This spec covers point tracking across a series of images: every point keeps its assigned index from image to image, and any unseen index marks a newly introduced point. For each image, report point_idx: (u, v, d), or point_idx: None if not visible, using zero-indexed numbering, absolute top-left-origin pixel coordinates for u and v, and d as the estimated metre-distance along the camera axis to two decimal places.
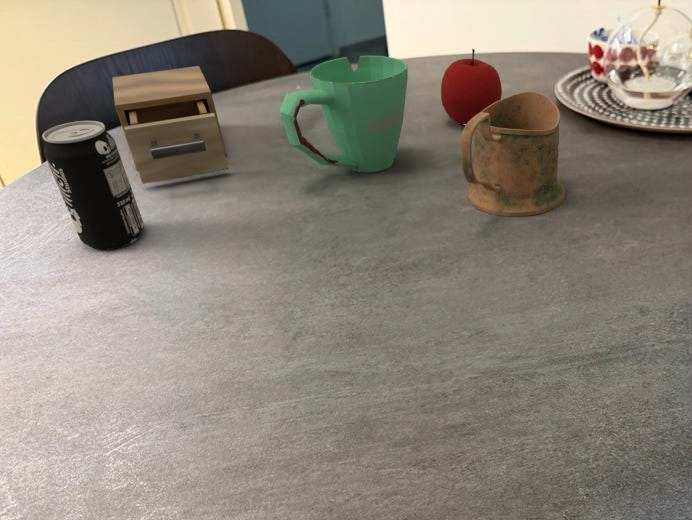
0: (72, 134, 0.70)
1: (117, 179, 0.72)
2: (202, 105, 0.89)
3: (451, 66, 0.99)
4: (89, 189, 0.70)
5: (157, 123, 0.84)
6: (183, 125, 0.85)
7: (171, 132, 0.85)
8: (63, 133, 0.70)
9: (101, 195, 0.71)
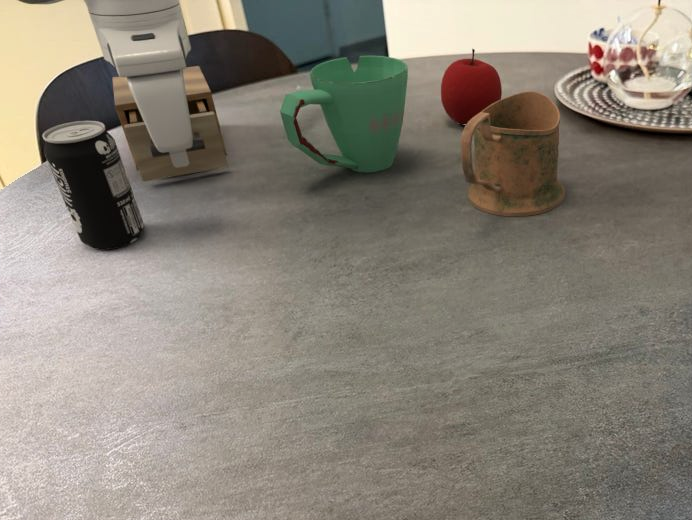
0: (72, 134, 0.70)
1: (118, 179, 0.72)
2: (201, 104, 0.90)
3: (451, 66, 0.99)
4: (89, 189, 0.70)
5: None
6: None
7: None
8: (63, 133, 0.70)
9: (101, 195, 0.71)
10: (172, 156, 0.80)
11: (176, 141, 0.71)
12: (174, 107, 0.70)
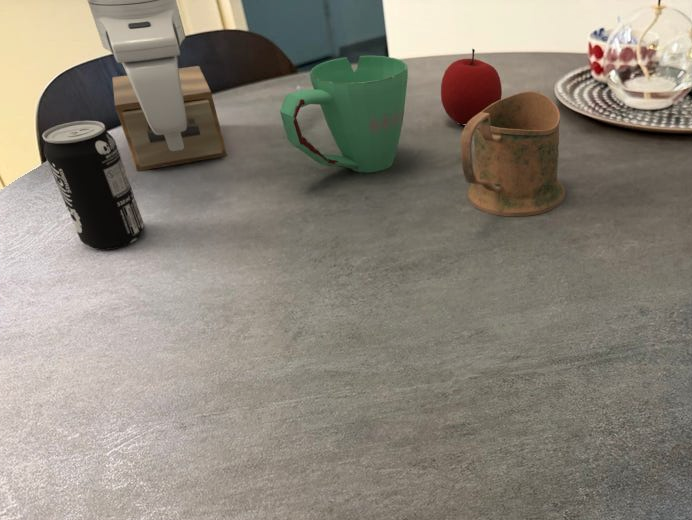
0: (72, 134, 0.70)
1: (118, 179, 0.72)
2: None
3: (451, 66, 0.99)
4: (89, 189, 0.70)
5: None
6: None
7: None
8: (63, 133, 0.70)
9: (101, 195, 0.71)
10: (168, 140, 0.84)
11: (171, 124, 0.75)
12: (168, 91, 0.74)
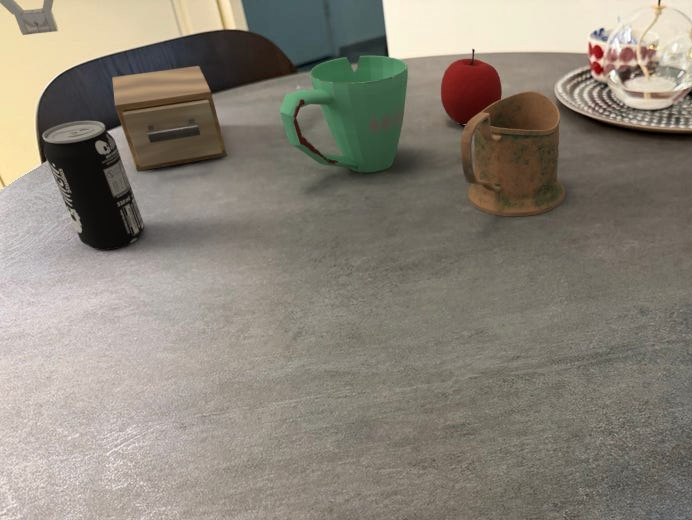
0: (72, 134, 0.70)
1: (118, 179, 0.72)
2: None
3: (451, 66, 0.99)
4: (89, 189, 0.70)
5: (154, 109, 0.88)
6: (178, 111, 0.89)
7: (167, 117, 0.89)
8: (63, 133, 0.70)
9: (101, 195, 0.71)
10: None
11: None
12: None
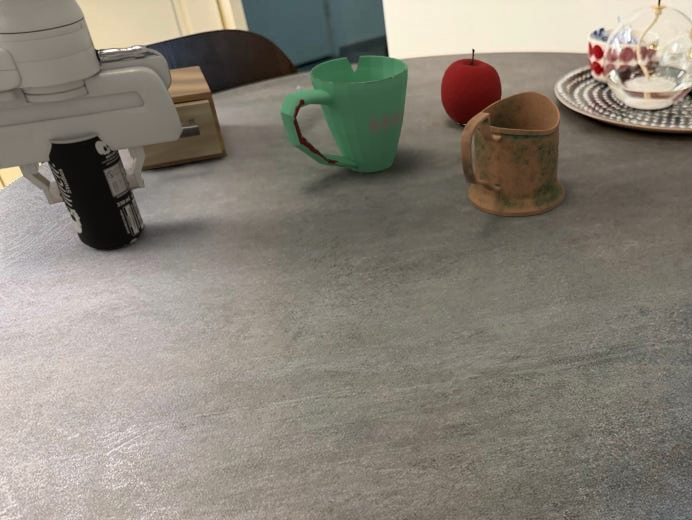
0: None
1: (117, 179, 0.72)
2: None
3: (451, 66, 0.99)
4: (89, 189, 0.70)
5: None
6: (178, 111, 0.89)
7: None
8: None
9: (101, 195, 0.71)
10: None
11: None
12: None
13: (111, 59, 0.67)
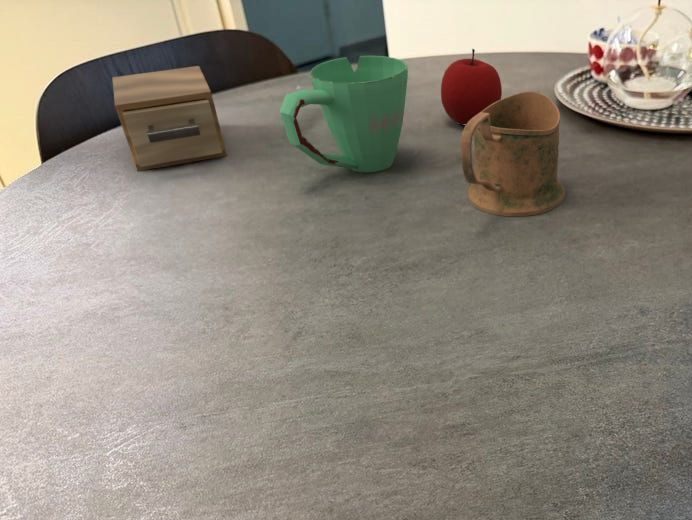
0: None
1: None
2: None
3: (451, 66, 0.99)
4: None
5: (154, 109, 0.88)
6: (178, 111, 0.89)
7: (167, 117, 0.89)
8: None
9: None
10: None
11: None
12: None
13: None
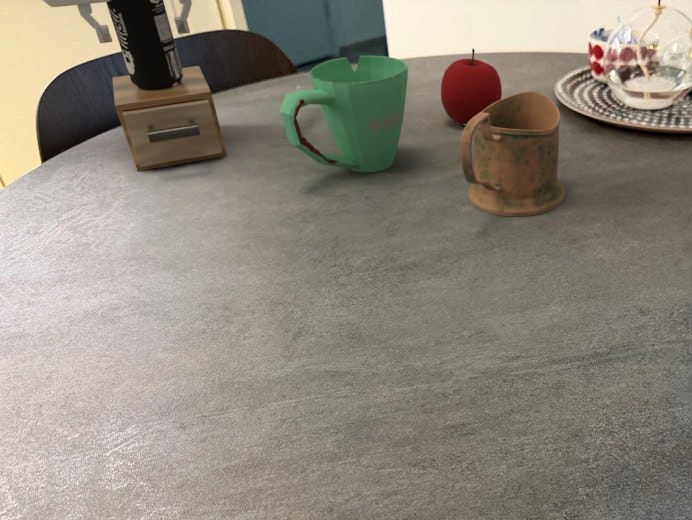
0: None
1: (164, 27, 0.88)
2: None
3: (451, 66, 0.99)
4: (142, 32, 0.87)
5: (154, 109, 0.88)
6: (178, 111, 0.89)
7: (167, 117, 0.89)
8: None
9: (151, 39, 0.88)
10: None
11: None
12: None
13: None
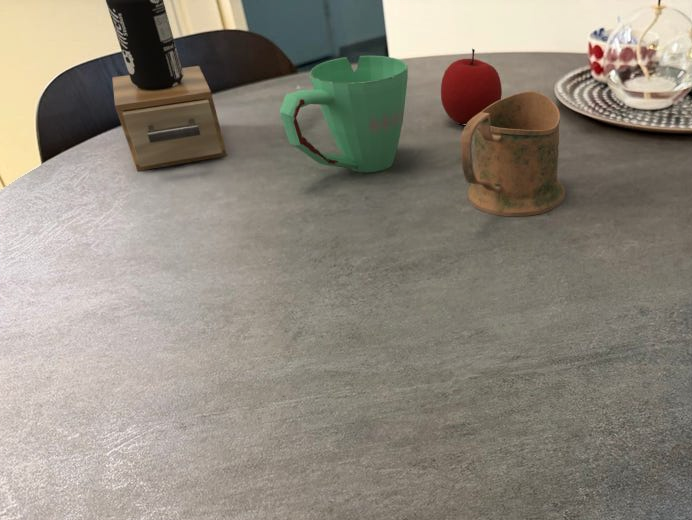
0: None
1: (164, 27, 0.88)
2: None
3: (451, 66, 0.99)
4: (142, 32, 0.87)
5: (154, 109, 0.88)
6: (178, 111, 0.89)
7: (167, 117, 0.89)
8: None
9: (151, 39, 0.88)
10: None
11: None
12: None
13: None
